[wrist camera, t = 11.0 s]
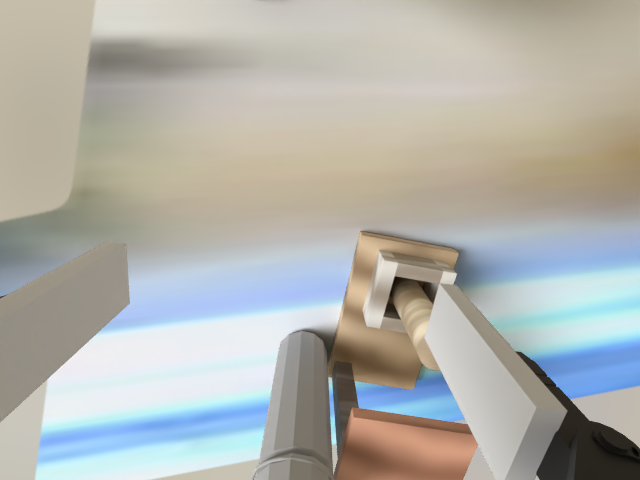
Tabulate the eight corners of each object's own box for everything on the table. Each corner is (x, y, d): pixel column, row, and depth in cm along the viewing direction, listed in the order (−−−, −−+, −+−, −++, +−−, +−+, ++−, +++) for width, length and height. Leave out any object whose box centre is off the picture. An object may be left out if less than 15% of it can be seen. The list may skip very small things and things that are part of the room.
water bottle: (290, 318, 48) (265, 498, 24) (337, 341, 49) (358, 533, 25) (262, 366, 50) (214, 572, 26) (308, 386, 51) (301, 602, 27)
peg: (392, 271, 44) (426, 331, 30) (421, 276, 44) (467, 337, 31) (384, 298, 45) (414, 367, 31) (412, 303, 45) (454, 373, 32)
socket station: (360, 231, 44) (389, 290, 27) (453, 248, 45) (539, 317, 28) (327, 367, 50) (333, 488, 33) (409, 380, 51) (457, 504, 34)
